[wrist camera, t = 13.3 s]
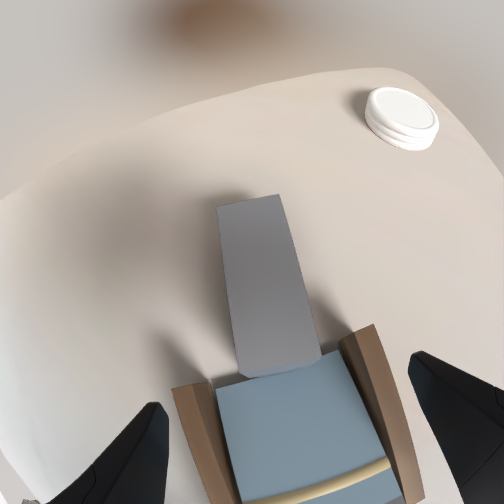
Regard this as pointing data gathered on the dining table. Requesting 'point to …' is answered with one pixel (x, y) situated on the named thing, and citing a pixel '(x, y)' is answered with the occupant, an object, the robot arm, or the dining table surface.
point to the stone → (265, 289)
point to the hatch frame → (373, 397)
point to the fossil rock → (30, 502)
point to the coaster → (401, 118)
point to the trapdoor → (305, 439)
